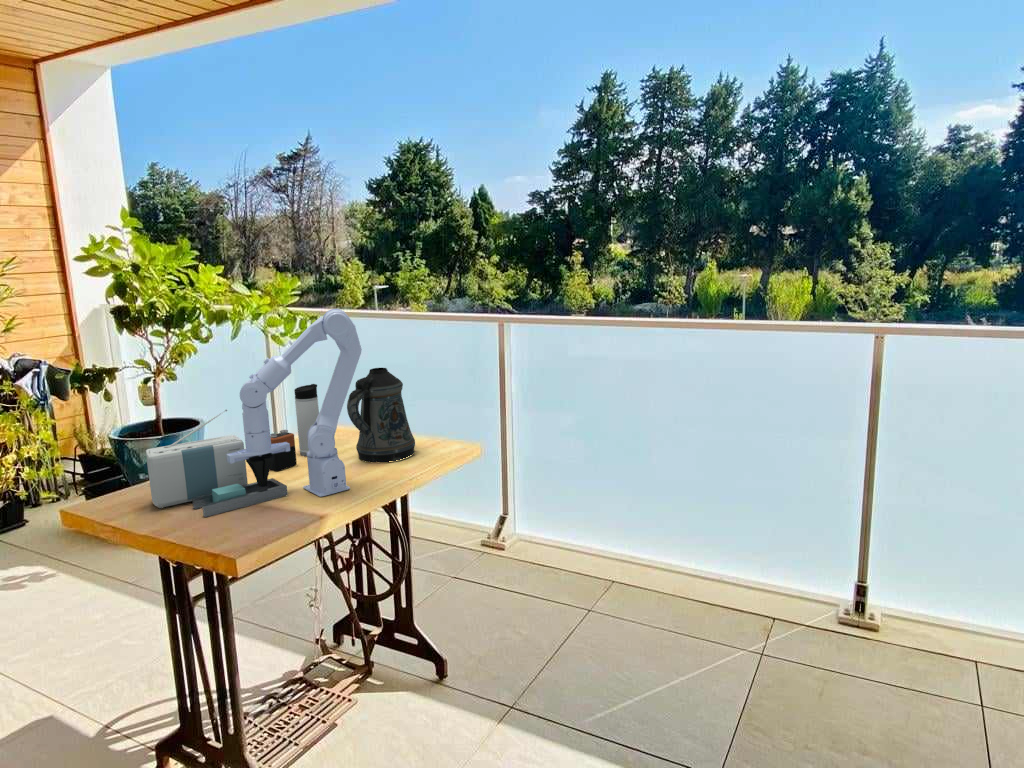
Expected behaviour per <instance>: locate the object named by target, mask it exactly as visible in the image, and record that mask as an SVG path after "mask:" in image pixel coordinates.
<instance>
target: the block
mask: <svg viewBox="0 0 1024 768" xmlns="http://www.w3.org/2000/svg"><path fill="white" fill-rule="evenodd" d="M245 494H246V490H245V488H244V487H242V486H241V485H239V484H234V485H229V486H225V487H221V488H216V489H212V496H213V502H217V501H221V500H225V499H229V498H233V497H237V496H241V495H245Z"/></svg>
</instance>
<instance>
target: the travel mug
mask: <svg viewBox="0 0 1024 768" xmlns="http://www.w3.org/2000/svg"><path fill="white" fill-rule="evenodd" d="M317 388H318V384H316V383H311V384H305V385H301V386H298V387H296V388H294V389H293V390H294V403H295V405H294V406H295V412H296V416H295V417H296V424H297V425H296V426H297V434H298V435H297V436H298V445H299V446H298V448H299V454H300V456H303V457H307V452H308V451H309V448H308V438H307V433H308V430H309V428H310V427H311V426H312V425H313V424H314V423H315V421H316V419H317V416H318V414H319V413H320V411H319V410H320V409H319V399H318V389H317Z"/></svg>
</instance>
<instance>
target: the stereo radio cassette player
mask: <svg viewBox="0 0 1024 768" xmlns="http://www.w3.org/2000/svg"><path fill="white" fill-rule="evenodd" d="M227 411H228V410H227V408H226V409H225V410H224V411H222V412H221V413H219V414H217V415H216V416H214V417H212V418H211V419H209V420H208V421H206V422H204V423H203V424H201V425H199V426H198V427H196V428H195V429H194V430H192V431H191V432H188V433H187V434H186V435H184V436H183V437H181V438H180V439H178V440H176V441H175V442H173V443H172V444H169V445H165V446H158V447H153V448H152V447H151V448H148V449H145V456H146V464H147V473H148V479H149V487H150V496H151V501H152V503H153V505H154V506H155V507H157V508H158V509H163V508H165V507H170V506H175V505H180V504H184V503H189V502H192V498H193V497H197V496H201V495H205V494H209V493H212V489H216V488H221V487H225V486H229V485H234V484H239V485H241V486H242V485H247V484H249V482H248V474H247V473H248V472H247V465H246V464H247V462H246V460H242V461H237V462H235V463H232V464H230V463H228V462H227V455H226V454H230V453H234V452H237V451H240V450H243V449H245V445H244V442H243V440H242V439H240V437H239V436H237V435H235V434H234V435H233V434H231V435H225V436H218V437H217V436H216V437H212V438H207V439H200V440H195V441H194V440H193V441H188V442H183V443H181V442H182V441H183V440H185V439H186V438H188V437H190V436H191V435H192V434H194V433H195V432H197V431H198V430H200V429H202V428H203V427H205V426H206V425H207V424H209V423H211V422H212V421H213V420H215V419H216V418H218V417H219V416H220V415H222V414H223V413H225V412H227ZM162 507H163V508H162Z"/></svg>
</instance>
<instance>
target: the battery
mask: <svg viewBox="0 0 1024 768" xmlns="http://www.w3.org/2000/svg"><path fill="white" fill-rule="evenodd" d="M270 437H271V444H276V443H283V442H287V443H290V451H288V452H286V451H284V452H279V453H274V454H272V456H274V462H273V464H272V466H271V468H270V471H272V472H273V471H274V472H281V471H282V470H286V469H289V468H293V467H295V466H296V465H297V464H298V463H297V452H296V441H295V434H294V433H292V432H289V430H288V429H282V430H280V431H279V432H278V433H276V432H275V433H274V432H273V433H270Z"/></svg>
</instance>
